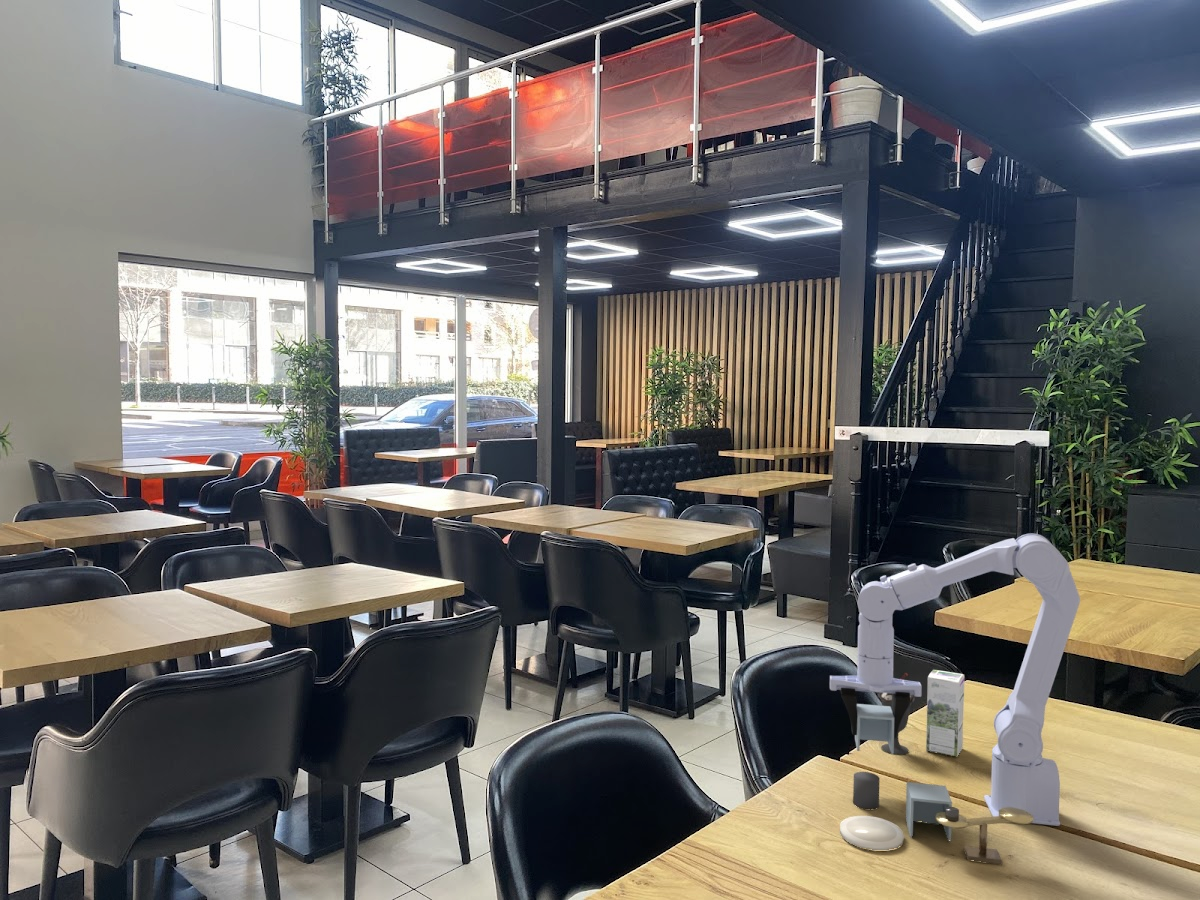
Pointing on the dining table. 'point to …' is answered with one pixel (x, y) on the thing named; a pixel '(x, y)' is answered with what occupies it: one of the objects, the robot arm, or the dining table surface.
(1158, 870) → the dining table surface
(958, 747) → the syrup box
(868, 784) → the dark grey cylinder
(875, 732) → the cover
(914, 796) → the cover
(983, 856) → the balance
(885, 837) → the dish
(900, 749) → the sundae
